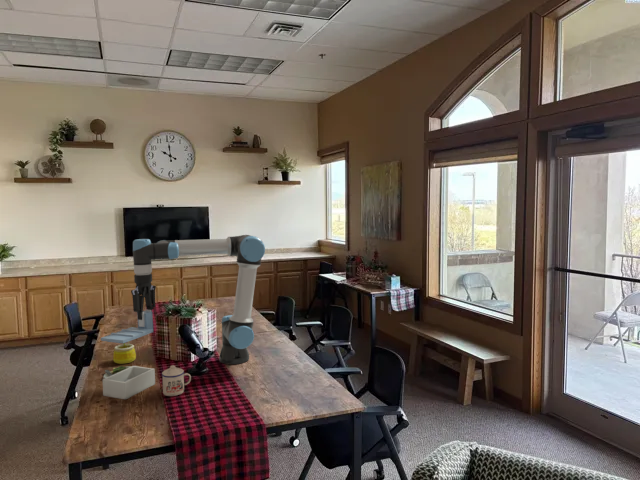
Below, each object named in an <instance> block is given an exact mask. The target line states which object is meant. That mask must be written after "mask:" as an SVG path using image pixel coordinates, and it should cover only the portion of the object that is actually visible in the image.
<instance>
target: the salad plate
mask: <svg viewBox="0 0 640 480" xmlns="http://www.w3.org/2000/svg"><path fill="white" fill-rule="evenodd" d="M129 367H132V366H130V365H129V366H123V365H120V366H118V367H117V366H116V367H113V368H112V369H113V370H111V371H110V370H109V369H105V370H104V372H105V373H104V374H103V379H105V378H107V377H109V376H111V375H114V374H116V373H118V372H120V371H123V370H125V369H127V368H129Z"/></svg>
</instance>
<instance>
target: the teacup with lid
mask: <svg viewBox="0 0 640 480" xmlns="http://www.w3.org/2000/svg"><path fill="white" fill-rule="evenodd" d="M161 376H162V393H163V395H164V396H166V397H174V396H175V397H177V396H178V395H179V396H180V395H182V394H183V393H184V392H185V386H187V385H188V384H190V382H191V381H192V376H191V374H190V373H188V372H185V370H184V369H182V368H179V367H176V365H174V364H172V365H170V366H169V367H168V368H167V369H165V370H163V371H162V372H161ZM185 376H188V381H187V382H185V378H184V377H185Z"/></svg>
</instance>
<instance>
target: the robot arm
mask: <svg viewBox="0 0 640 480" xmlns="http://www.w3.org/2000/svg"><path fill="white" fill-rule="evenodd" d="M265 254H266V246H265V244H264V242H263V241H262V239H260V238H259V237H257V236H255V235H249V234H243V235H242V234H241V235H235V236H227V238H209V239H208V238H207V239H204V238H203V239H179V240H178V239H175V240H166V239H163V240H159V241H157V242H153V243H152V241H151V239H149V238H139V239H134V240H133V241H132V257H133V272H134V275H133V280H134V284H135V289H132V290H131V292H130V293H131V297H132V308H133V312H135V313H136V314H137V313H138V318H137V321H138V320H139V326H140V327H145V321H144V312H143V311H150V312H152V313H153V310H154V309H155V308H156V287H157V285H152V282H153V274H152V272H153V265H152V261H156V260H173V259H179V256H180V257H181V256H204V255H205V256H206V255H207V256H209V255H210V256H211V255H227V256H229V257H230V256H231V257H236V264H237V265H238V271H237V280H236V281H237V282H236V289H235V298H234V305H233V314H229V315H224V316H222V318H221V339H222V340H221V342H222V346H221V349H220V353H219V358H218V360H219V362H220V364H225V365H238V364H243V363H247V362H248V361H249V360H250V353H249V350H248V348H249V346H251V345H252V344H253V342H254V339H255V333H254V331H253V328H254V319H253V318H252V311H253V310H252V309H253V303H254V296H255V295H254V294H255V288H256V287H255V285H256V280H257V272H258V271H257V270H258V268H259V267H261V264H262V258H263V257H264V255H265ZM144 301H145V306H146V309H145V310H144Z"/></svg>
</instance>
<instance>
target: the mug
mask: <svg viewBox="0 0 640 480" xmlns="http://www.w3.org/2000/svg"><path fill="white" fill-rule="evenodd" d="M112 356H113V357H112V360H113V363H114V364H119V365H124V364H130V363H133V362H134V361H135V360H136V358H137V354H136V349H135V345H134V344H131V343H130V341H129V342H127V343H123V344H122V343H120V344H118V345H115V346H114V348H113V355H112Z"/></svg>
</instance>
